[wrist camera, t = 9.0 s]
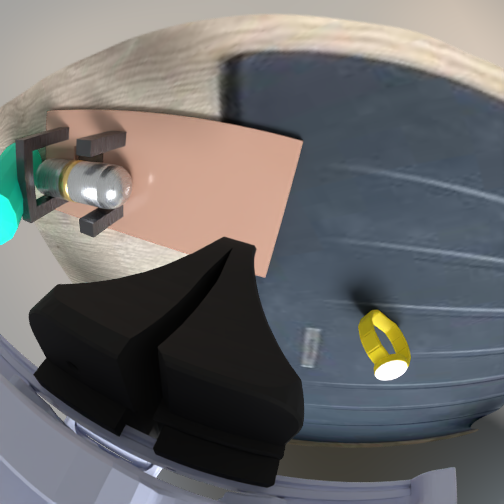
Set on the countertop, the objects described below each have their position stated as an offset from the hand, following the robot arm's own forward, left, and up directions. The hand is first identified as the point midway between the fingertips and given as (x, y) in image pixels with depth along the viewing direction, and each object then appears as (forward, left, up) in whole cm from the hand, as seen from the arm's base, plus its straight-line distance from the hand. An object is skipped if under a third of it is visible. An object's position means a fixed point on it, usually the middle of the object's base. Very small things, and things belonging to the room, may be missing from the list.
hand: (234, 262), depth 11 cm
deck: (+7, +9, -10) cm, 15 cm away
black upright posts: (+11, +13, -9) cm, 19 cm away
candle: (+19, +21, -8) cm, 29 cm away
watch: (-15, -3, -10) cm, 18 cm away
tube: (+10, +13, -9) cm, 19 cm away
